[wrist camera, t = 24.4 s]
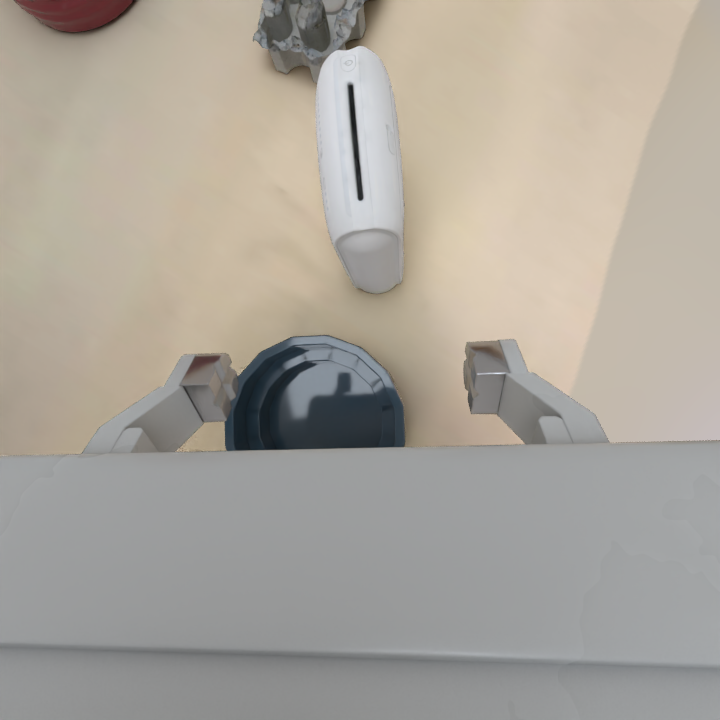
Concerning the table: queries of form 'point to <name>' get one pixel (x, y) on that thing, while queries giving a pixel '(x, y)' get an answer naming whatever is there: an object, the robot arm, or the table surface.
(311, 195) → the table surface
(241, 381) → the bowl
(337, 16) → the grey packaging insert
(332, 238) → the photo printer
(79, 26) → the kitchen canister
